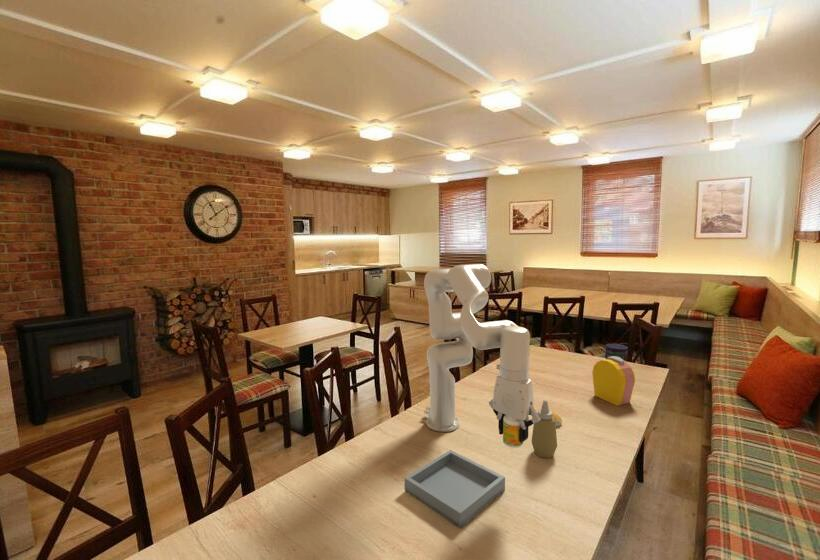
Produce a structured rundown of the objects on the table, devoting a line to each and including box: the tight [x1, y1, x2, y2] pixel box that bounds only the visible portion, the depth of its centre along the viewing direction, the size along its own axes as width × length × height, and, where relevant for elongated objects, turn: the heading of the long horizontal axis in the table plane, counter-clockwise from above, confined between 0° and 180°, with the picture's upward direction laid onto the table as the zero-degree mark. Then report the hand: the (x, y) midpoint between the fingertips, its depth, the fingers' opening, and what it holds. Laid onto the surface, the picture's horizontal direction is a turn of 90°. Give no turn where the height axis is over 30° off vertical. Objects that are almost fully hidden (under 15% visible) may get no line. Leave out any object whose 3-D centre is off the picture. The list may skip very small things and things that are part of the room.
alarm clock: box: [592, 356, 636, 406], centre depth 167 cm, size 15×8×18 cm, turn 22°
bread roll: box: [551, 410, 563, 428], centre depth 149 cm, size 8×9×4 cm
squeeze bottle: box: [531, 399, 558, 459], centre depth 127 cm, size 8×8×18 cm
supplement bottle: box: [502, 415, 524, 449], centre depth 106 cm, size 5×5×10 cm
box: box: [404, 449, 506, 529], centre depth 110 cm, size 20×20×4 cm
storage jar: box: [604, 342, 628, 362], centre depth 195 cm, size 10×10×15 cm
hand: (512, 435), depth 106 cm, fingers closed on supplement bottle, 5 cm apart
